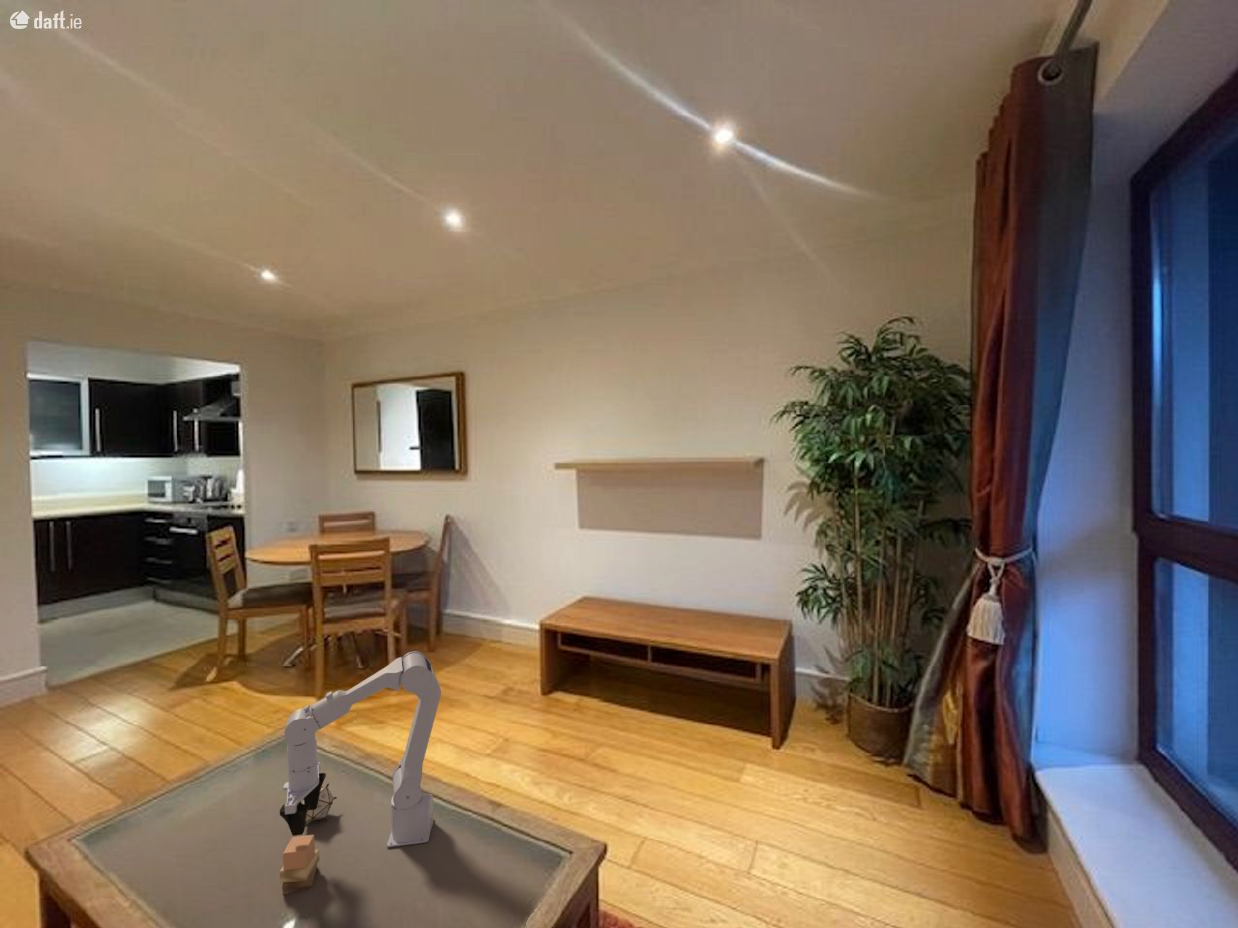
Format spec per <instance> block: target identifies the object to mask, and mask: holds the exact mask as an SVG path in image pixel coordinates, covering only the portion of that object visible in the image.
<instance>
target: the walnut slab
mask: <svg viewBox="0 0 1238 928" xmlns="http://www.w3.org/2000/svg"><path fill="white" fill-rule="evenodd" d="M317 867H318V864H317V865H316V866H315V868H314V870H313V871H312V873H311V875H310V876H309V878H308V879H307V881H296V882H282V884H281V885H282V895H287V894H290V893H294V892H299V891H302V890H306V889H311V888H312V887H313V885H314V881H315V876H316V874H317V873H316V872H317V869H318V868H317Z"/></svg>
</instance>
